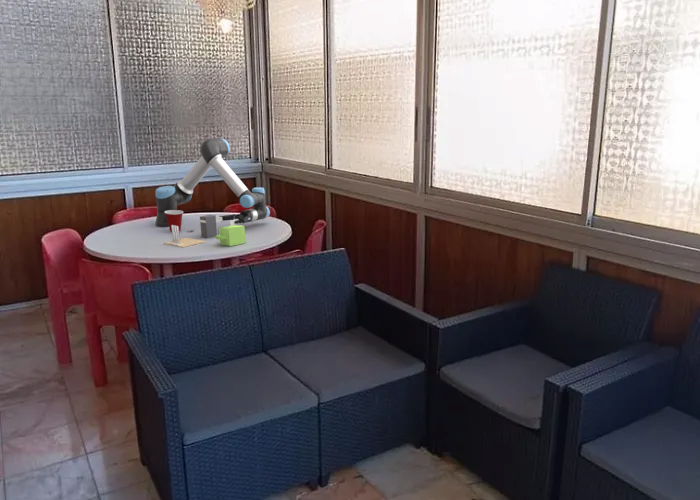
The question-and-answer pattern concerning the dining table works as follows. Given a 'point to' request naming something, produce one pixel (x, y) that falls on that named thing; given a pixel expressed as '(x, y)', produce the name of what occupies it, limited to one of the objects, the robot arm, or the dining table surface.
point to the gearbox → (231, 235)
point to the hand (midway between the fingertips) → (221, 221)
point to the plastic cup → (174, 218)
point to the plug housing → (208, 226)
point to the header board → (184, 241)
